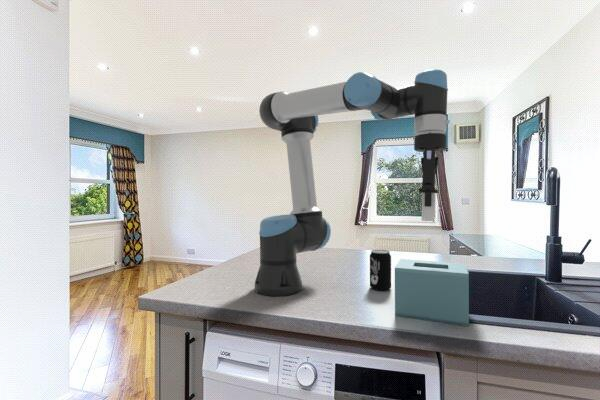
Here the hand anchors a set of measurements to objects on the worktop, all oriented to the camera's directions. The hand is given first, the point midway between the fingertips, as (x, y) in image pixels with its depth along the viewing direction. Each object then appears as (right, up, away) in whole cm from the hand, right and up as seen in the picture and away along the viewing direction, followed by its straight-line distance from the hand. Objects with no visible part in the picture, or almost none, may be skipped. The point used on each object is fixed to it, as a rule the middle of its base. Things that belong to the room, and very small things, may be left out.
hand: (428, 219), depth 79 cm
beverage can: (-7, -24, +21) cm, 32 cm away
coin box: (0, -24, 0) cm, 24 cm away
